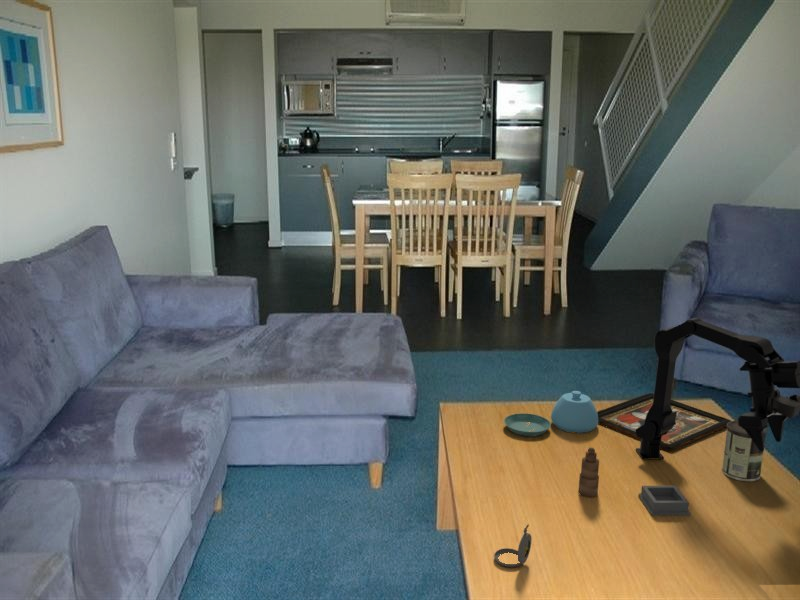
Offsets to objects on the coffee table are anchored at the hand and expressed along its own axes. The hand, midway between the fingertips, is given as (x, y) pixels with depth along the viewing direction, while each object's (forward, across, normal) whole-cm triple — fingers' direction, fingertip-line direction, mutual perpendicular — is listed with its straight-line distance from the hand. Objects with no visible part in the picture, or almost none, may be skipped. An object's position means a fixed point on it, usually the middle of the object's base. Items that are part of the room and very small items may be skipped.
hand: (770, 446), depth 201 cm
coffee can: (+12, +10, +15) cm, 22 cm away
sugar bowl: (-1, 0, +64) cm, 64 cm away
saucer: (-3, -15, +71) cm, 73 cm away
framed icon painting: (+4, +24, +49) cm, 55 cm away
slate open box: (+11, -24, +18) cm, 32 cm away
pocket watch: (+10, -74, +24) cm, 78 cm away
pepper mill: (+7, -34, +34) cm, 48 cm away
